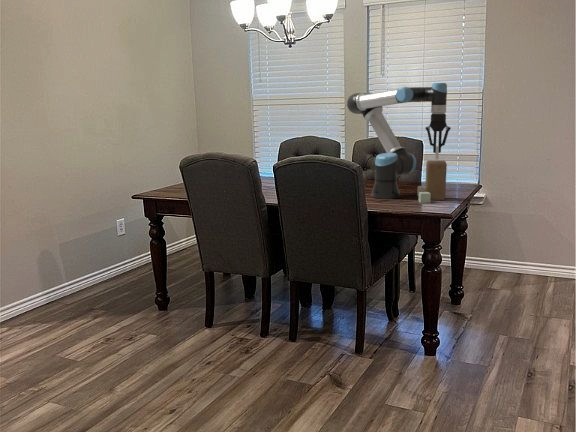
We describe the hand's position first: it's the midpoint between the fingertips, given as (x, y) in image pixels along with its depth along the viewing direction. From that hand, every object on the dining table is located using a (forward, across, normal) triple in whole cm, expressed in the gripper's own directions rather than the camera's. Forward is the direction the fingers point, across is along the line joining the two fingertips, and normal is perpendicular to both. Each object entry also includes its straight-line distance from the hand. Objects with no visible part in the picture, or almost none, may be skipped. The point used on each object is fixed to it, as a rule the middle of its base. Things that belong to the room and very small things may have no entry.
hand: (436, 159), depth 298 cm
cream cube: (+21, -6, +10) cm, 24 cm away
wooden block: (+22, 0, 0) cm, 22 cm away
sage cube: (+21, -6, -10) cm, 24 cm away
